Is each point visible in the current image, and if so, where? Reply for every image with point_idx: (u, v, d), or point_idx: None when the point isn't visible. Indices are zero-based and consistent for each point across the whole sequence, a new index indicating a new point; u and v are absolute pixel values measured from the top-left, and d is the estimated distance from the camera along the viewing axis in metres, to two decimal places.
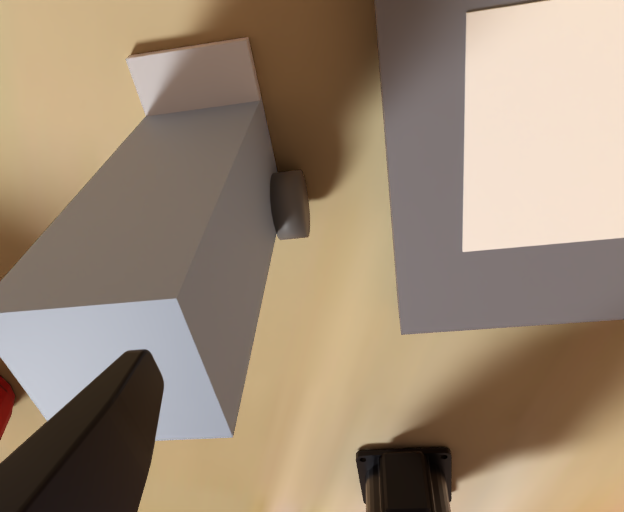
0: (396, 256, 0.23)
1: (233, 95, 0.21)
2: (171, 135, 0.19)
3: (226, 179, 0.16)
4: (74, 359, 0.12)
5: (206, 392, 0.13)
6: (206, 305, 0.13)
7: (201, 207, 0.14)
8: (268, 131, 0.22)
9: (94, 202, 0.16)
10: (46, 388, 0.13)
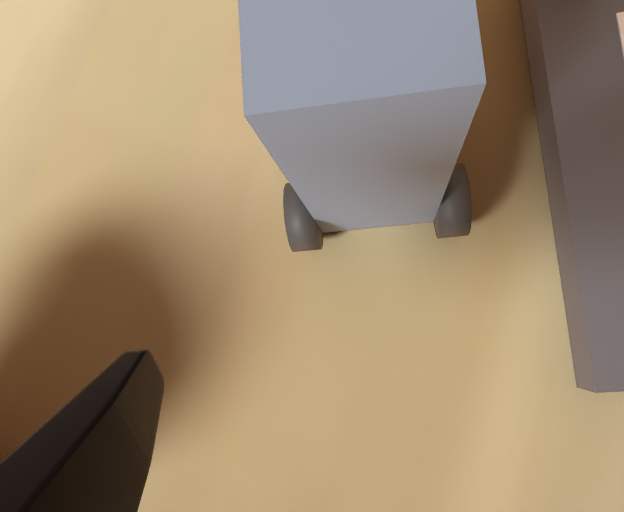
0: (577, 260, 0.20)
1: None
2: None
3: None
4: None
5: None
6: None
7: None
8: None
9: None
10: (266, 9, 0.11)
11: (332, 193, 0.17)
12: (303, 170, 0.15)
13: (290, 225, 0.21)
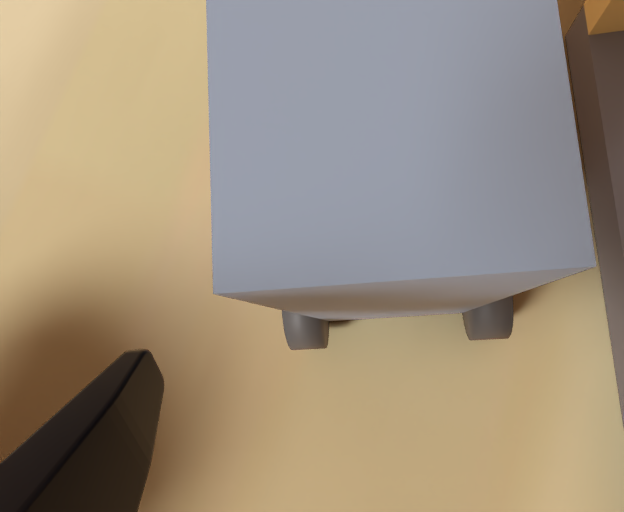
0: None
1: None
2: None
3: None
4: (329, 53, 0.07)
5: (559, 125, 0.07)
6: None
7: None
8: None
9: None
10: (250, 126, 0.07)
11: (342, 311, 0.13)
12: (304, 307, 0.11)
13: (289, 325, 0.17)
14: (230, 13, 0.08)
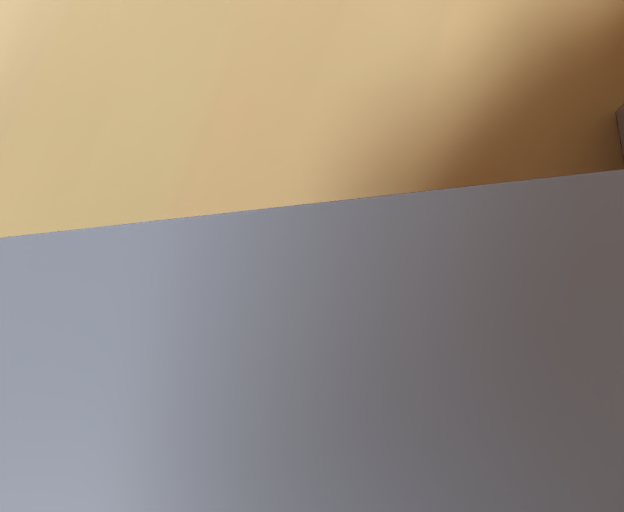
0: None
1: None
2: None
3: None
4: (244, 480, 0.03)
5: None
6: None
7: None
8: None
9: None
10: None
11: None
12: None
13: None
14: (26, 344, 0.03)
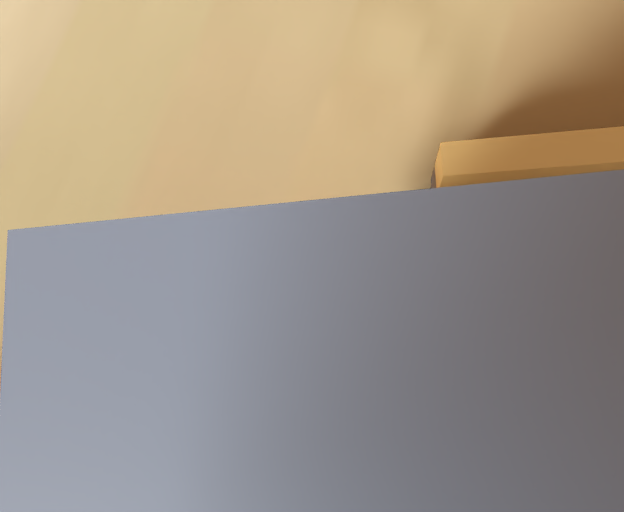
0: None
1: None
2: None
3: None
4: (263, 463, 0.03)
5: None
6: None
7: None
8: None
9: None
10: None
11: None
12: None
13: None
14: (52, 330, 0.04)
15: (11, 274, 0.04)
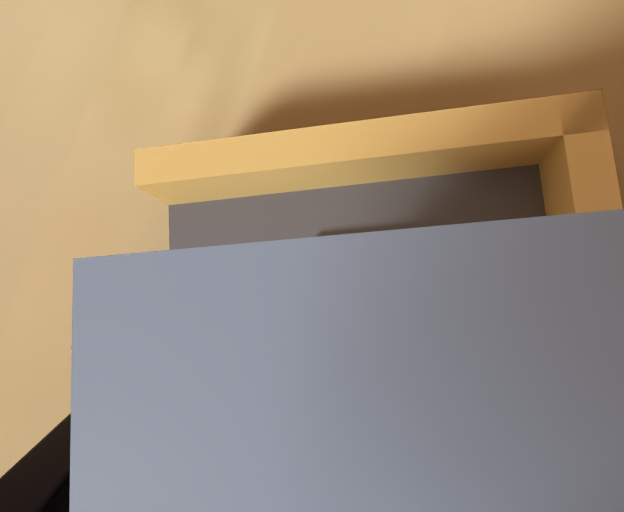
0: None
1: None
2: None
3: None
4: (297, 454, 0.04)
5: None
6: None
7: None
8: None
9: None
10: None
11: None
12: None
13: None
14: (115, 345, 0.04)
15: (78, 297, 0.04)
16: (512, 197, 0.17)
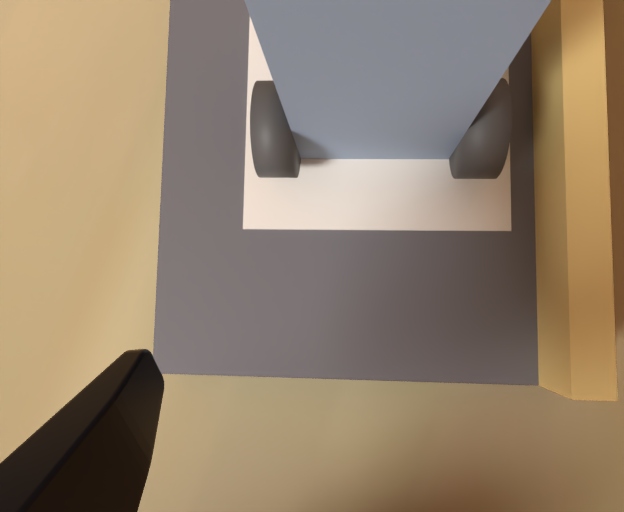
0: (160, 228, 0.18)
1: None
2: None
3: None
4: None
5: None
6: None
7: None
8: None
9: None
10: None
11: (323, 78, 0.11)
12: (282, 7, 0.09)
13: (256, 136, 0.15)
14: None
15: None
16: None
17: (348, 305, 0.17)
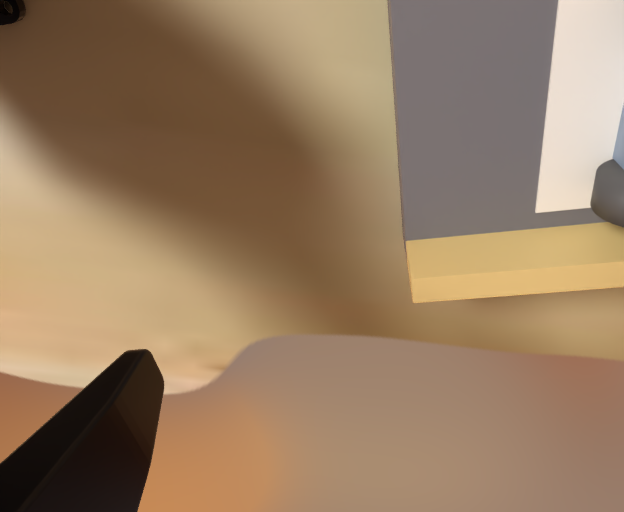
0: None
1: None
2: None
3: None
4: None
5: None
6: None
7: None
8: None
9: None
10: None
11: None
12: None
13: None
14: None
15: None
16: None
17: (469, 83, 0.17)
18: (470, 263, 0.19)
